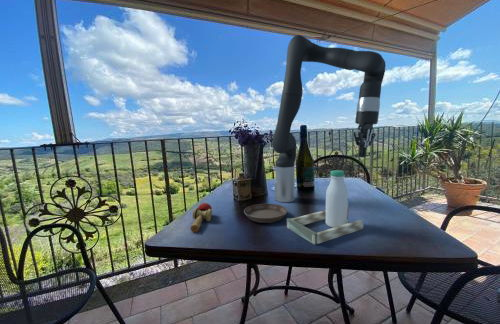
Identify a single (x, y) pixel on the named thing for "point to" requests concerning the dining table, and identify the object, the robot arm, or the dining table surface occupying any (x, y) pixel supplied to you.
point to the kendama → (201, 215)
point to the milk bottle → (337, 200)
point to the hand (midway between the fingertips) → (362, 157)
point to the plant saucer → (265, 213)
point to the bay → (322, 236)
